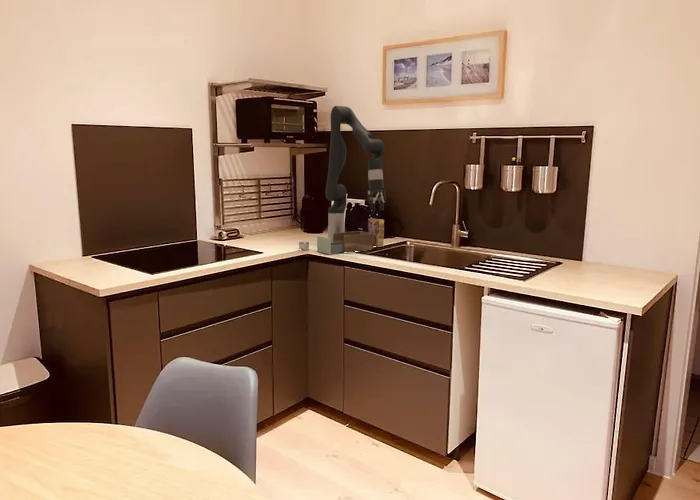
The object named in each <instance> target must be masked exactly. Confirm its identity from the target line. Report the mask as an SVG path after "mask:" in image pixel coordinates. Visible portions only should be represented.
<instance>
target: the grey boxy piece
mask: <svg viewBox="0 0 700 500" xmlns="http://www.w3.org/2000/svg"><path fill="white" fill-rule="evenodd" d="M316 242H317V244H316V248H317V249H316V251H317V252H319V253H320V252H321V253H323V254H326V255H329V256H331V255H332V254H339V253H338V252H344V242H333V243H331V239H330V238H328V237H326V236H322V235H316Z"/></svg>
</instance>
